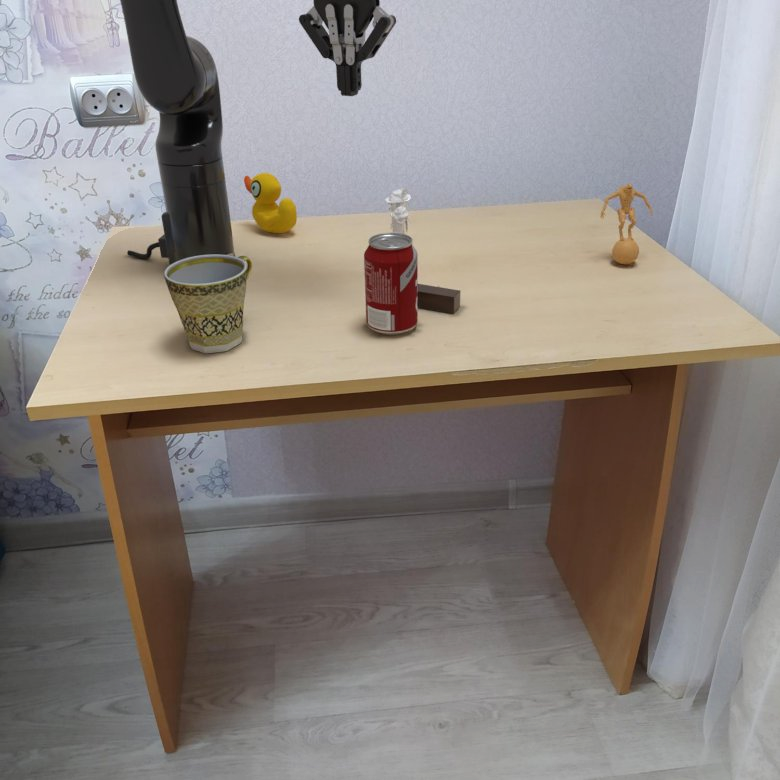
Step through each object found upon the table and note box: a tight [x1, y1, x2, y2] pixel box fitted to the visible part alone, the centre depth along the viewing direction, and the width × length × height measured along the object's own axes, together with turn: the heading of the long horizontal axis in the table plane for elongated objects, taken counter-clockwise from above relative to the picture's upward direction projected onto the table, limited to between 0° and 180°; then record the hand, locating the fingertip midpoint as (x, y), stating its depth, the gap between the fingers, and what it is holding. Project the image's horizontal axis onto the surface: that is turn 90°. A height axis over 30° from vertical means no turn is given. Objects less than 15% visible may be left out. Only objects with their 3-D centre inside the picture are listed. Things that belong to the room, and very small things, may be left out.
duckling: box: [243, 172, 298, 234], centre depth 133 cm, size 11×5×10 cm, turn 51°
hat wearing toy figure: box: [385, 187, 412, 235], centre depth 121 cm, size 9×4×12 cm, turn 4°
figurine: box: [600, 183, 654, 266], centre depth 118 cm, size 8×6×12 cm
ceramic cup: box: [163, 254, 253, 354], centre depth 98 cm, size 13×10×10 cm
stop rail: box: [418, 283, 461, 315], centre depth 108 cm, size 12×2×2 cm, turn 65°
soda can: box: [363, 232, 419, 336], centre depth 99 cm, size 7×7×12 cm
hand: (349, 94), depth 99 cm, fingers closed
